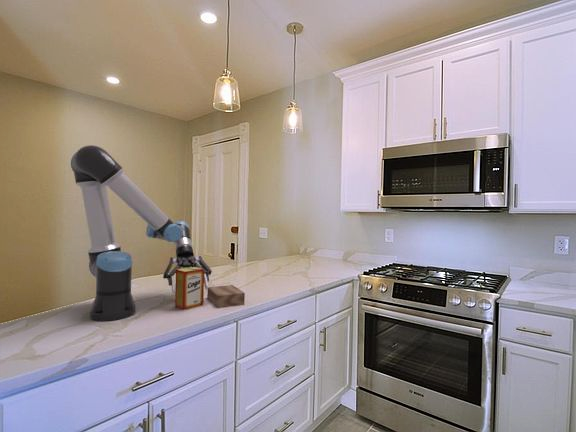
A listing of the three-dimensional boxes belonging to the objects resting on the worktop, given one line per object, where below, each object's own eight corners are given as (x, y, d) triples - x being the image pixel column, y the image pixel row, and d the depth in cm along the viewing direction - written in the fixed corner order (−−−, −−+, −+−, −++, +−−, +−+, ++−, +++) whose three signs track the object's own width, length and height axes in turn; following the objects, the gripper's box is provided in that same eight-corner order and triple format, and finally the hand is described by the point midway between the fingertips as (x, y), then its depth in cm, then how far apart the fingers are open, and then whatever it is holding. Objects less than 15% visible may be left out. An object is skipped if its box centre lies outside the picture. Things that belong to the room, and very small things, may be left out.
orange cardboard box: (183, 310, 123) (184, 270, 123) (174, 306, 128) (175, 268, 127) (203, 305, 131) (204, 268, 131) (194, 301, 135) (195, 266, 135)
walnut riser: (217, 307, 127) (218, 295, 127) (207, 298, 141) (207, 287, 141) (244, 304, 133) (244, 292, 133) (231, 295, 147) (232, 284, 147)
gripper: (209, 253, 149) (217, 291, 136) (154, 256, 136) (157, 297, 123) (212, 243, 144) (221, 282, 131) (155, 245, 132) (159, 287, 119)
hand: (190, 289), depth 127 cm, fingers open, 13 cm apart
